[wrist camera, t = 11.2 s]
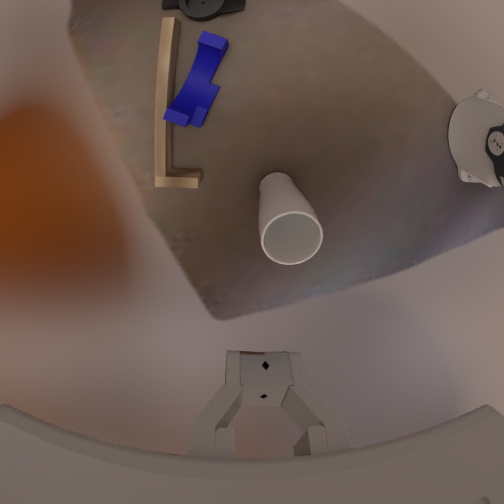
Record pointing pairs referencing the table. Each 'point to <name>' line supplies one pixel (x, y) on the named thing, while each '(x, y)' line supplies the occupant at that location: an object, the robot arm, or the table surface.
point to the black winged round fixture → (204, 7)
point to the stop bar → (163, 100)
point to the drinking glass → (286, 221)
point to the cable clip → (198, 83)
